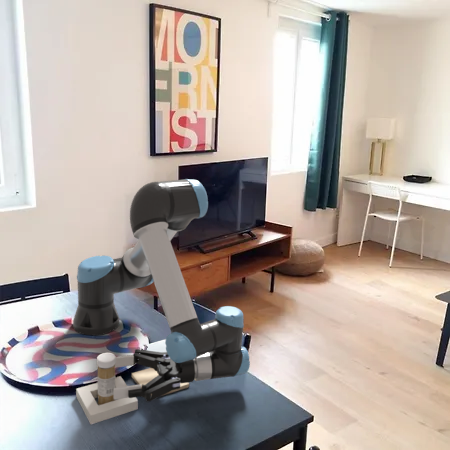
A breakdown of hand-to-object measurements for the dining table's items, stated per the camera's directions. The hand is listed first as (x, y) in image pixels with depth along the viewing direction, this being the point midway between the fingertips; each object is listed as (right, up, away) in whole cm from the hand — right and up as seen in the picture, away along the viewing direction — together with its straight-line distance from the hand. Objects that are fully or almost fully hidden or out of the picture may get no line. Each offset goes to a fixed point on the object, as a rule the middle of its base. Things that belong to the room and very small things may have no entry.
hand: (110, 377), depth 116 cm
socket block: (-2, -7, +2) cm, 8 cm away
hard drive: (+10, -1, +29) cm, 31 cm away
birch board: (+11, -5, +12) cm, 17 cm away
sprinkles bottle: (-2, -7, +2) cm, 8 cm away
